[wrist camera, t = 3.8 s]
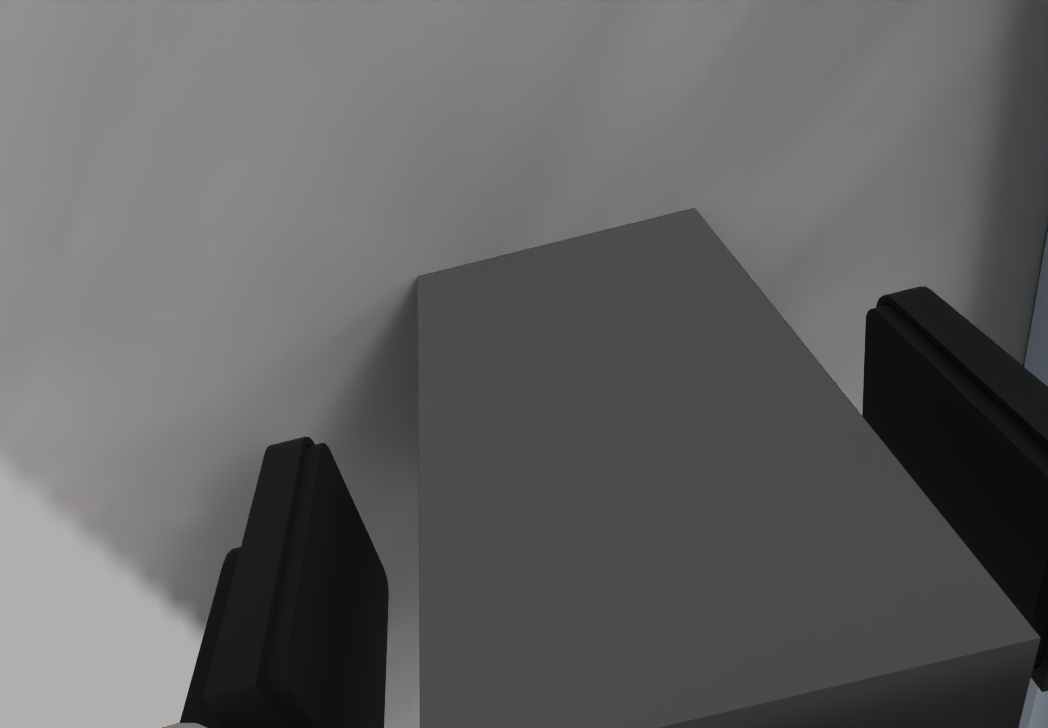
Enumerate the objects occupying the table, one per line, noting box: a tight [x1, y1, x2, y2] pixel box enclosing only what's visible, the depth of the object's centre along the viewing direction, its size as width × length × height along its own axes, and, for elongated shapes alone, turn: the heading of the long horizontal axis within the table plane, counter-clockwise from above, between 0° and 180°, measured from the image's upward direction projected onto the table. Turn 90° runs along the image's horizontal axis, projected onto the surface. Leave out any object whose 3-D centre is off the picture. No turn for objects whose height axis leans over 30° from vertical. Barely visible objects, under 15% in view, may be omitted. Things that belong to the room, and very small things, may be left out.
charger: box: [418, 208, 1040, 728], centre depth 10 cm, size 5×4×8 cm
